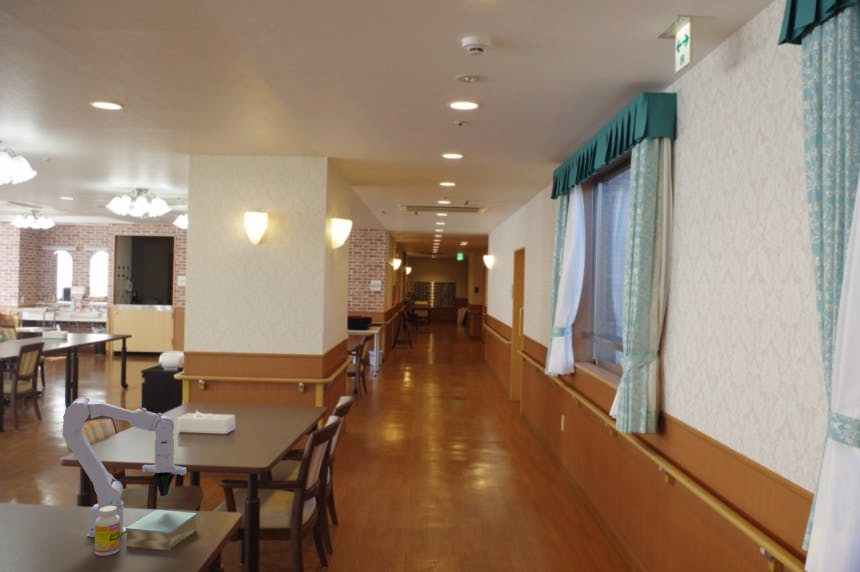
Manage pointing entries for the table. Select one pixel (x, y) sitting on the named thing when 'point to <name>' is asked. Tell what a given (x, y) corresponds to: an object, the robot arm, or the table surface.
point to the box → (160, 537)
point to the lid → (161, 521)
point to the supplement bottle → (107, 531)
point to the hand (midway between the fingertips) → (164, 495)
